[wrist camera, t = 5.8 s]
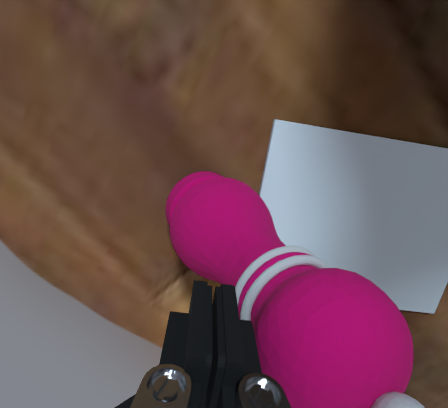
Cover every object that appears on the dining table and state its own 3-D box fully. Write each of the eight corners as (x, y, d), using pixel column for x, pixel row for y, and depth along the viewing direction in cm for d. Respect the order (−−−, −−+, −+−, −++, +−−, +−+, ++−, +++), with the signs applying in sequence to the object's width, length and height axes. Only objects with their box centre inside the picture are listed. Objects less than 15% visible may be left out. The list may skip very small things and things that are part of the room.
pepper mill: (254, 187, 27) (549, 368, 9) (214, 255, 28) (417, 536, 10) (186, 149, 23) (454, 323, 6) (143, 228, 24) (265, 586, 7)
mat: (273, 119, 24) (275, 119, 24) (494, 156, 26) (501, 157, 26) (239, 287, 29) (240, 291, 28) (430, 310, 31) (434, 313, 30)
